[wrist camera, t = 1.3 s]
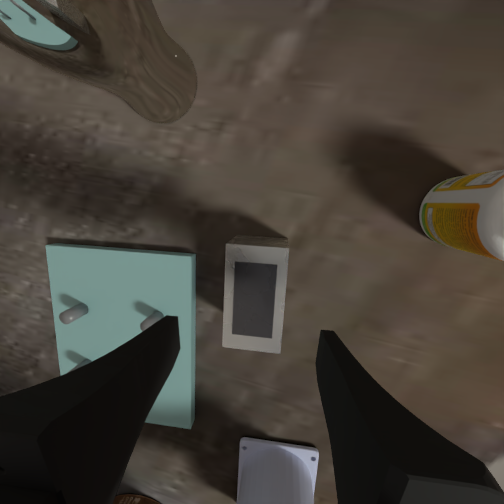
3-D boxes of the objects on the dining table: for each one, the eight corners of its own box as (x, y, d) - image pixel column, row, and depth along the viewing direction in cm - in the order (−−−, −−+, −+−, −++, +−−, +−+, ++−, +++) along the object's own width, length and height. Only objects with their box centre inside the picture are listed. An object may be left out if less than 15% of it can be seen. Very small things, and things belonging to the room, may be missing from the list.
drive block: (280, 322, 24) (280, 354, 19) (234, 317, 24) (222, 347, 19) (287, 238, 22) (289, 248, 17) (237, 234, 22) (225, 243, 18)
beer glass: (171, 147, 21) (-65, 31, 7) (106, 93, 21) (-280, -146, 7) (220, 73, 20) (50, -279, 5) (151, 14, 20) (-226, -525, 5)
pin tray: (194, 419, 27) (183, 448, 24) (73, 401, 28) (47, 426, 25) (195, 253, 23) (182, 261, 20) (56, 243, 25) (24, 249, 21)
